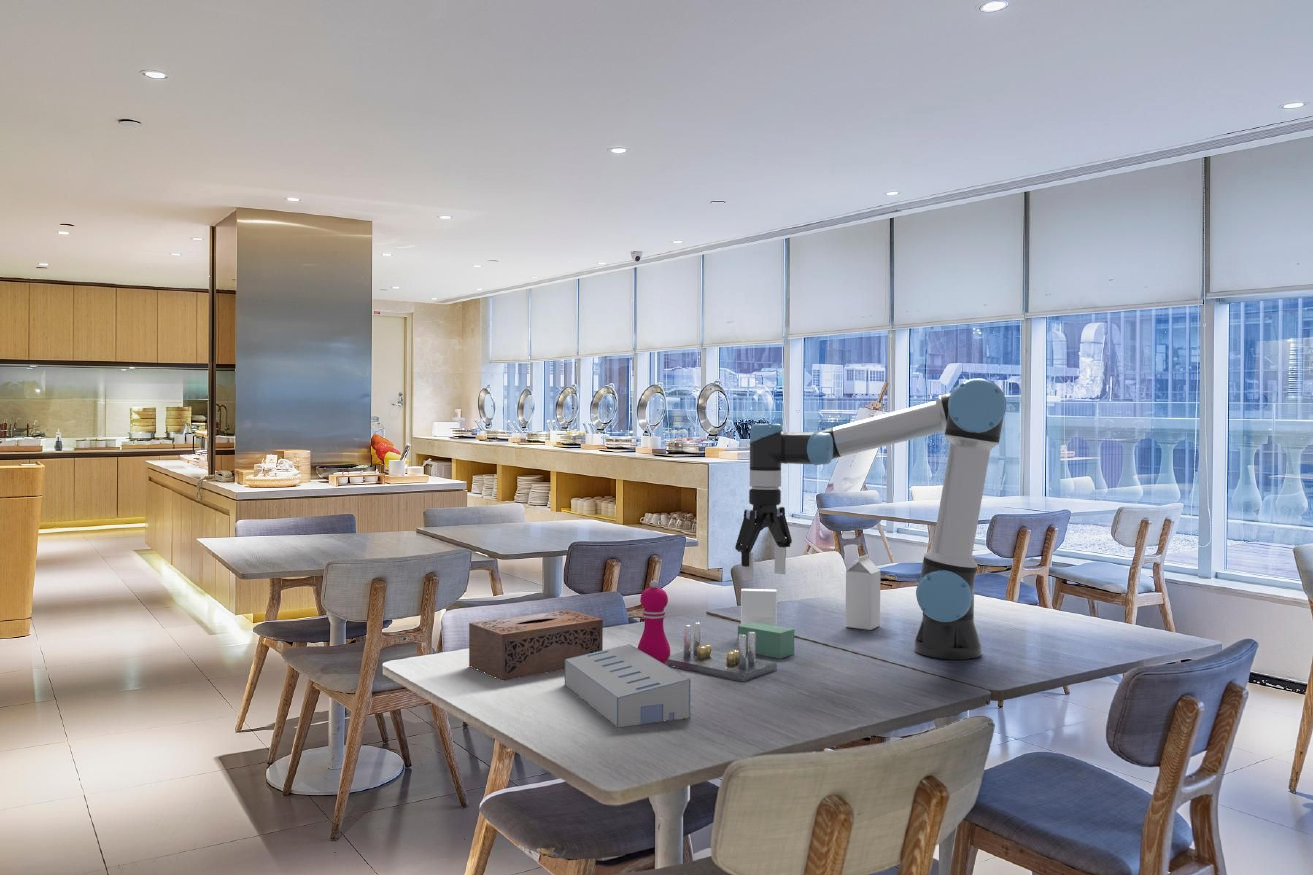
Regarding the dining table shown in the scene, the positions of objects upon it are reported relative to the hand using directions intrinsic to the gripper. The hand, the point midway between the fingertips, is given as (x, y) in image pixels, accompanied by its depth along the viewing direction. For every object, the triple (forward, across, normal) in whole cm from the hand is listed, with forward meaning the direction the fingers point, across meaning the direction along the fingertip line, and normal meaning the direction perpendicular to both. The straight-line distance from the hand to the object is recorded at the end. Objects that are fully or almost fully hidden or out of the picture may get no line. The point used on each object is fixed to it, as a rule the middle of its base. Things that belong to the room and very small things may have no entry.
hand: (764, 576), depth 231 cm
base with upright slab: (+18, -10, -9) cm, 22 cm away
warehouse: (+18, +53, +4) cm, 56 cm away
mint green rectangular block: (+18, +1, +2) cm, 18 cm away
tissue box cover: (+18, +46, -29) cm, 58 cm away
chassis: (+17, +20, +2) cm, 27 cm away
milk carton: (+18, -40, +5) cm, 44 cm away
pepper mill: (+18, +34, -6) cm, 38 cm away
